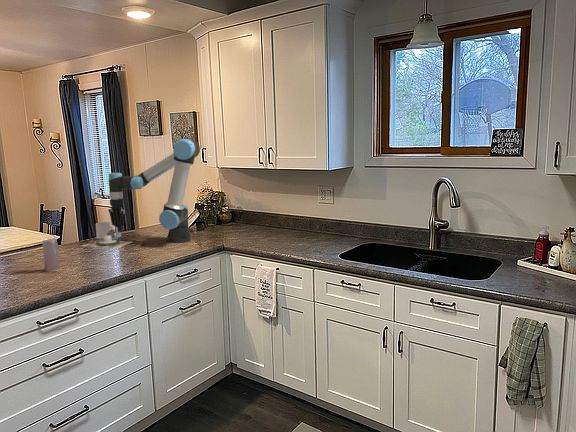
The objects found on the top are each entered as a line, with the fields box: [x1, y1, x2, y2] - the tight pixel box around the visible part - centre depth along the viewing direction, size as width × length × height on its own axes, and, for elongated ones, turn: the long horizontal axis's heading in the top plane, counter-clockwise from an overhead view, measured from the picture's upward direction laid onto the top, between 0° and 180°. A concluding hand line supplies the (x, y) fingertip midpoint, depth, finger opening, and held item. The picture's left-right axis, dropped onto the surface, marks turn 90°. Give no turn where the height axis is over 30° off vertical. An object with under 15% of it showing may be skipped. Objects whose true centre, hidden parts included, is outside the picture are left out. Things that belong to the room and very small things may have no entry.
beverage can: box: [42, 238, 60, 273], centre depth 210 cm, size 6×6×15 cm
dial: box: [99, 228, 117, 243], centre depth 264 cm, size 15×10×7 cm, turn 4°
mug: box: [95, 221, 114, 240], centre depth 279 cm, size 12×8×10 cm
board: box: [82, 238, 133, 249], centre depth 262 cm, size 24×17×3 cm
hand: (118, 236), depth 267 cm, fingers closed
